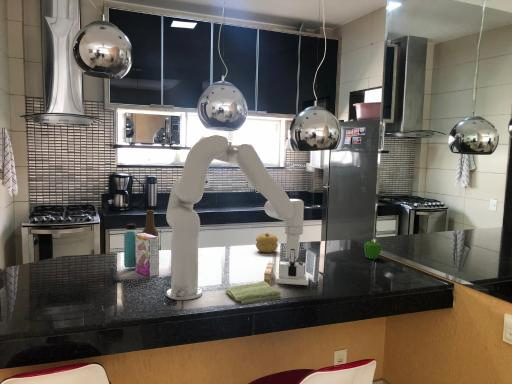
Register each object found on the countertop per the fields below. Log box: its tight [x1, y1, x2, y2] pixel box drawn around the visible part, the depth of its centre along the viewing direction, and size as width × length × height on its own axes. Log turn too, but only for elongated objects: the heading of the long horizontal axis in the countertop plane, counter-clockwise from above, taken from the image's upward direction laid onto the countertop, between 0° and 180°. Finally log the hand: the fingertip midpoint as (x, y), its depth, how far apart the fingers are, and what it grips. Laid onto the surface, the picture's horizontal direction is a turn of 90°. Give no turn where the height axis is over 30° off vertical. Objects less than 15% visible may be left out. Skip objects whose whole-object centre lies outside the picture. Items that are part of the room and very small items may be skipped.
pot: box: [255, 232, 279, 254], centre depth 213 cm, size 12×12×10 cm
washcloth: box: [225, 280, 282, 304], centre depth 145 cm, size 13×18×3 cm
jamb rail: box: [263, 262, 275, 286], centre depth 164 cm, size 16×2×5 cm, turn 173°
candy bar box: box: [135, 232, 160, 278], centre depth 168 cm, size 11×5×16 cm, turn 47°
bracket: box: [275, 273, 309, 286], centre depth 163 cm, size 8×13×2 cm, turn 83°
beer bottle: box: [141, 209, 159, 237], centre depth 189 cm, size 8×8×24 cm
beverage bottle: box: [123, 223, 140, 269], centre depth 174 cm, size 6×7×20 cm
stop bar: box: [278, 261, 306, 278], centre depth 162 cm, size 4×10×6 cm, turn 83°
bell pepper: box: [363, 239, 382, 260], centre depth 203 cm, size 8×8×10 cm
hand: (292, 273), depth 162 cm, fingers closed on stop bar, 4 cm apart
